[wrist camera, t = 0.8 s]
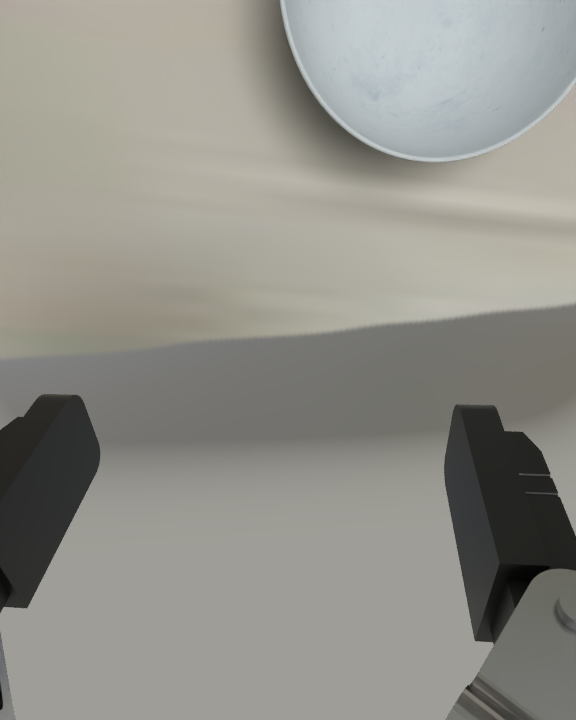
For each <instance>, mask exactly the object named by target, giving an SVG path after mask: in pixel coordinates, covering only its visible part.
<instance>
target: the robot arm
mask: <svg viewBox="0 0 576 720" xmlns="http://www.w3.org/2000/svg"><path fill="white" fill-rule="evenodd" d="M99 461H100V447H99V443H98V440H97V437H96V435H95V432H94V429H93V426H92V424H91V421H90V418H89V416H88V413H87V410H86V407H85V405H84V402H83V400H82V399H81V397H79V396H78V395H54V394H44V395H41V396H39V397H38V398H37V399H36V401H35V402H34V403H33V405H32V406H31V407H30V409H29V410H28V411H27V413H26V414H25V416H24V417H17V418H16V419H14V420H13V421H12V422H10V423H9V424H8V425H6V426H5V427H4V428H2V429H1V430H0V612H1V611H2V609H3V607H15V608H27V607H28V605H29V603H30V601H31V600H32V597H33V596H34V593H35V592H36V590H37V588H38V586H39V584H40V582H41V580H42V578H43V576H44V574H45V572H46V570H47V568H48V566H49V564H50V562H51V560H52V558H53V556H54V554H55V553H56V551H57V549H58V547H59V545H60V543H61V541H62V539H63V537H64V535H65V533H66V531H67V529H68V527H69V525H70V523H71V521H72V519H73V517H74V515H75V513H76V511H77V509H78V507H79V505H80V503H81V501H82V500H83V498H84V496H85V494H86V492H87V490H88V488H89V486H90V484H91V482H92V480H93V478H94V476H95V474H96V472H97V469H98V466H99ZM444 473H445V486H446V491H447V496H448V502H449V507H450V512H451V517H452V522H453V528H454V533H455V538H456V544H457V549H458V555H459V560H460V565H461V570H462V576H463V580H464V586H465V592H466V597H467V601H468V607H469V613H470V618H471V623H472V628H473V633H474V639H475V641H483V642H484V641H485V642H493V643H494V646H493V648H492V650H491V651H490V653H489V655H488V657H487V658H486V660H485V662H484V664H483V665H482V667H481V669H480V671H479V672H478V674H477V675H476V677H475V679H474V680H473V682H472V683H471V684H470V685H468V686H467V687H466V688H465V689H464V691H463V692H462V693H461V695H460V696H459V698H458V700H457V702H456V703H455V705H454V706H453V708H452V710H451V711H450V713H449V715H448V716H447V718H446V720H576V536H575V533H574V531H573V528H572V527H571V524H570V521H569V519H568V516H567V514H566V511H565V509H564V506H563V504H562V501H561V499H560V497H558V491H557V489H556V487H555V484H554V482H553V479H552V478H550V472H549V469H548V467H547V464H546V462H545V459H544V457H543V454H542V452H541V451H540V450H539V448H538V447H537V446H536V445H535V444H534V443H533V442H532V441H531V440H530V439H529V438H528V437H527V436H526V435H525V434H524V433H523V432H507V431H504V428H503V426H502V423H501V420H500V417H499V414H498V411H497V409H496V407H495V406H493V405H456V406H455V407H454V410H453V415H452V421H451V426H450V432H449V438H448V443H447V449H446V455H445V464H444ZM0 720H15V716H14V711H13V706H12V700H11V694H10V688H9V682H8V676H7V670H6V664H5V658H4V652H3V646H2V640H1V634H0Z"/></svg>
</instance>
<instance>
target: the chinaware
mask: <svg viewBox="0 0 576 720" xmlns="http://www.w3.org/2000/svg"><path fill="white" fill-rule="evenodd" d="M280 7H281V13H282V19H283V24H284V28H285V32H286V36H287V39H288V42H289V46H290V49H291V51H292V54H293V57H294V59H295V62H296V64H297V66H298V68H299V71H300V73H301V75H302V76H303V78H304V80H305V82H306V84H307V86H308V87H309V89H310V90H311V92H312V93H313V95H314V96H315V98H316V99H317V101H318V102H319V103H320V105H321V106H322V107H323V108H324V110H325V111H326V112H327V113H328V114H329V115H330V116H331V117H332V118H333V119H334V120H335V121H336V122H337V123H338V124H339V125H340V126H341V127H342V128H343V129H345V130H346V131H347V132H348V133H350V134H351V135H352V136H354V137H355V138H357V139H358V140H360V141H361V142H363V143H365V144H366V145H368V146H370V147H372V148H374V149H376V150H378V151H381V152H383V153H386V154H389V155H392V156H395V157H398V158H402V159H407V160H412V161H420V162H450V161H457V160H463V159H467V158H471V157H475V156H478V155H482V154H485V153H487V152H490V151H492V150H495V149H497V148H499V147H501V146H503V145H505V144H507V143H509V142H511V141H513V140H514V139H516V138H518V137H519V136H521V135H522V134H524V133H525V132H527V131H528V130H530V129H531V128H532V127H534V126H535V125H536V124H537V123H539V122H540V121H541V120H542V119H543V118H544V117H546V116H547V115H548V114H549V113H550V112H551V111H552V110H553V109H554V108H555V107H556V106H557V105H558V104H559V103H560V102H561V101H562V99H563V98H564V97H565V96H566V95H567V94H568V92H569V91H570V90H571V89H572V87H573V86H574V85H575V83H576V0H280Z"/></svg>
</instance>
